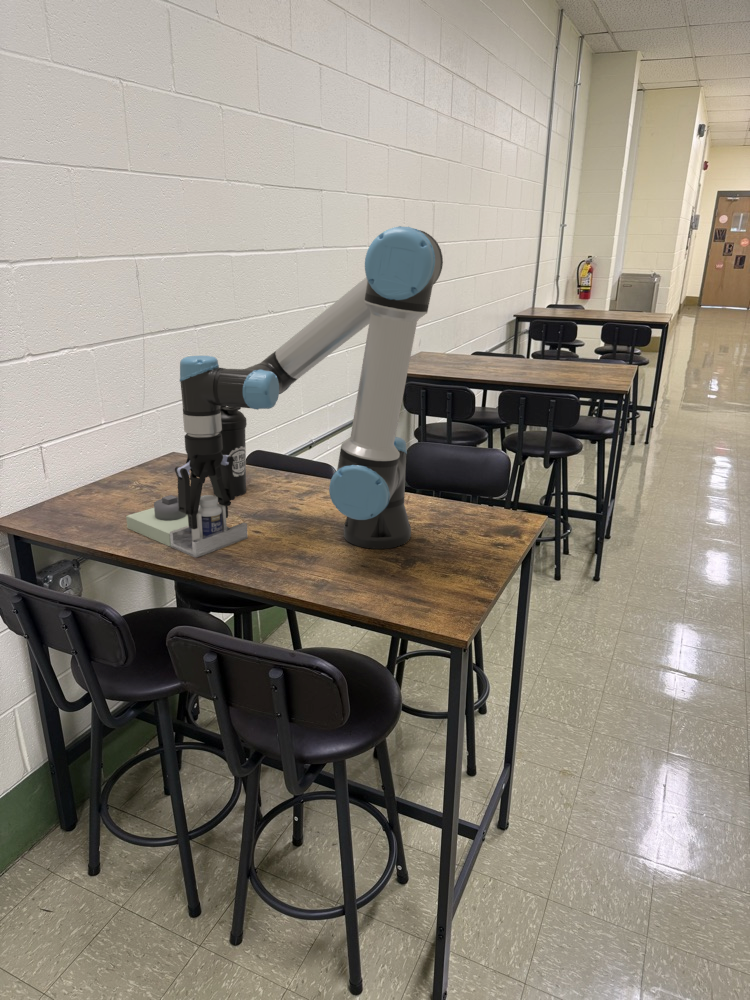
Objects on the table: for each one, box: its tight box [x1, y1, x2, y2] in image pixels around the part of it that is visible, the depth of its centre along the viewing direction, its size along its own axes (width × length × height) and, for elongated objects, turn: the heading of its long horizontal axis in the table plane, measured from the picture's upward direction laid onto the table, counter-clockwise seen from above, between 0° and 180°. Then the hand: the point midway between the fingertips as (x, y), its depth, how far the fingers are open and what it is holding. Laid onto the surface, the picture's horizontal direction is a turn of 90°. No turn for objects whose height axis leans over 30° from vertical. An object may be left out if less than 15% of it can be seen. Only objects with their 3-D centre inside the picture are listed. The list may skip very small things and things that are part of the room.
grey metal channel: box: [170, 522, 249, 559], centre depth 149 cm, size 8×14×4 cm, turn 142°
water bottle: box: [212, 406, 247, 498], centre depth 177 cm, size 10×10×23 cm
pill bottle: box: [198, 494, 222, 537], centre depth 148 cm, size 5×5×10 cm
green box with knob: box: [125, 494, 189, 548], centre depth 155 cm, size 16×14×7 cm
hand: (209, 536), depth 149 cm, fingers open, 6 cm apart
